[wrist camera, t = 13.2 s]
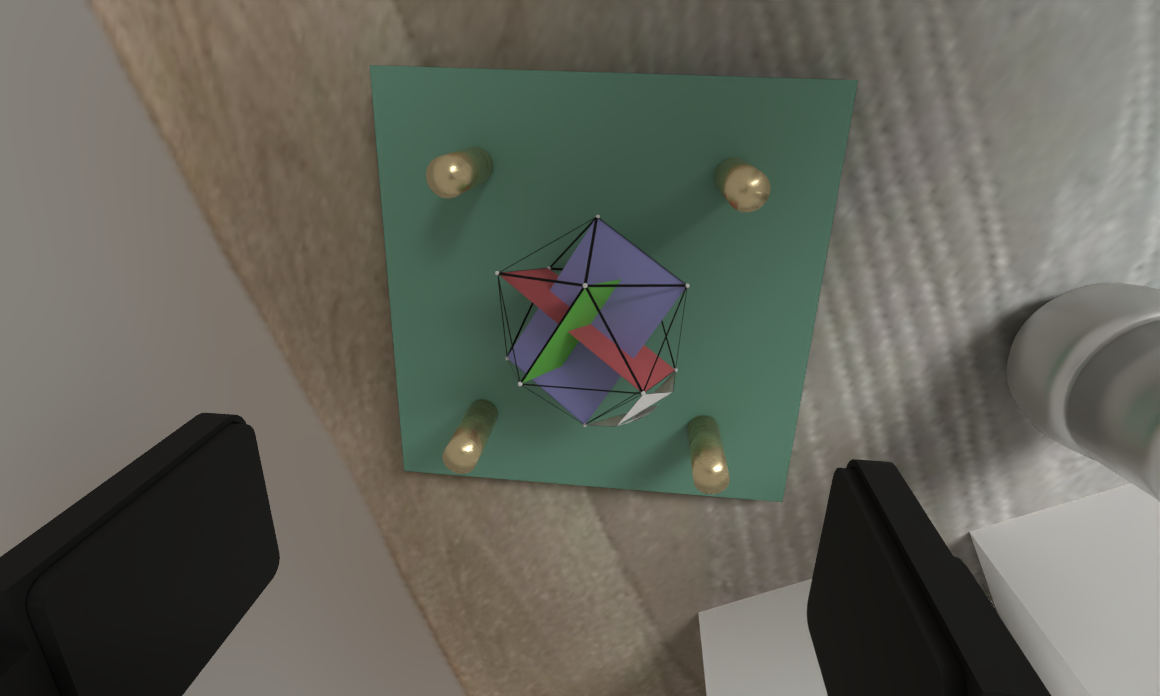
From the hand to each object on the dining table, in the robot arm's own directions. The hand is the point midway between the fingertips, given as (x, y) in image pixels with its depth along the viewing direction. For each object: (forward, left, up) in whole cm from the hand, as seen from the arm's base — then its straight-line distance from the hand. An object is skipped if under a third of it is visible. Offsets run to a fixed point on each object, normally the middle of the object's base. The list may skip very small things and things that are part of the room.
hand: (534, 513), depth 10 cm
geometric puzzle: (0, +2, -17) cm, 17 cm away
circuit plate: (0, +2, -19) cm, 19 cm away
